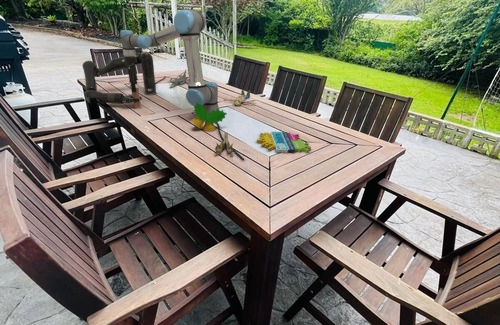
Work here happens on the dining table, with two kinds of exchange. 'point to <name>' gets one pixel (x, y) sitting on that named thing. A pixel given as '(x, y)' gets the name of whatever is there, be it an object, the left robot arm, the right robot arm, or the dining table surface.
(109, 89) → the dining table surface
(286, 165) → the dining table surface
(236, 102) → the toy
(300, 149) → the sign
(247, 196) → the dining table surface
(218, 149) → the jawbone
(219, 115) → the ornament
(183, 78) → the airplane
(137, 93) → the jar
